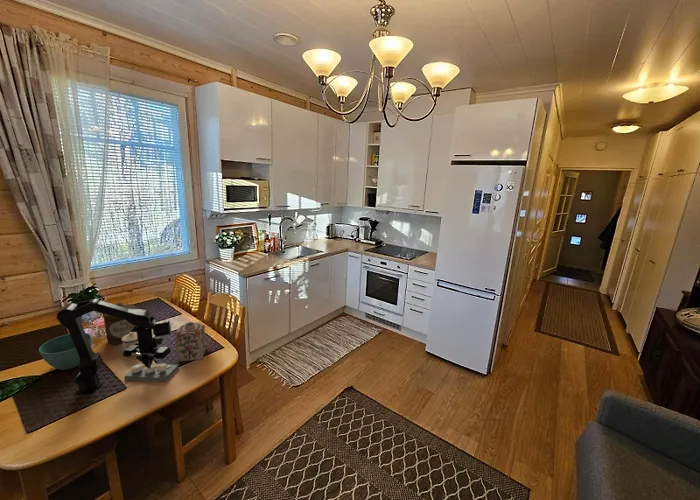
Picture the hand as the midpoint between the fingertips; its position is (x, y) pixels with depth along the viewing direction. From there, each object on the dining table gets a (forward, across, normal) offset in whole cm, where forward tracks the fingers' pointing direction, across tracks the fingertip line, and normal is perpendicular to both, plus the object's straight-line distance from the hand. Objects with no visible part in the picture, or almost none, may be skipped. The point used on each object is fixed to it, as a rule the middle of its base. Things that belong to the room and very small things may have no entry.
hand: (149, 367), depth 139 cm
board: (+4, 0, -2) cm, 5 cm away
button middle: (+4, 0, 0) cm, 4 cm away
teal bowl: (+5, +43, -4) cm, 43 cm away
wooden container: (+5, +36, -30) cm, 47 cm away
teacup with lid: (+5, +20, -18) cm, 28 cm away
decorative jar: (+5, -10, -18) cm, 22 cm away
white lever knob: (+2, -6, 0) cm, 6 cm away
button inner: (+4, +6, 0) cm, 7 cm away
